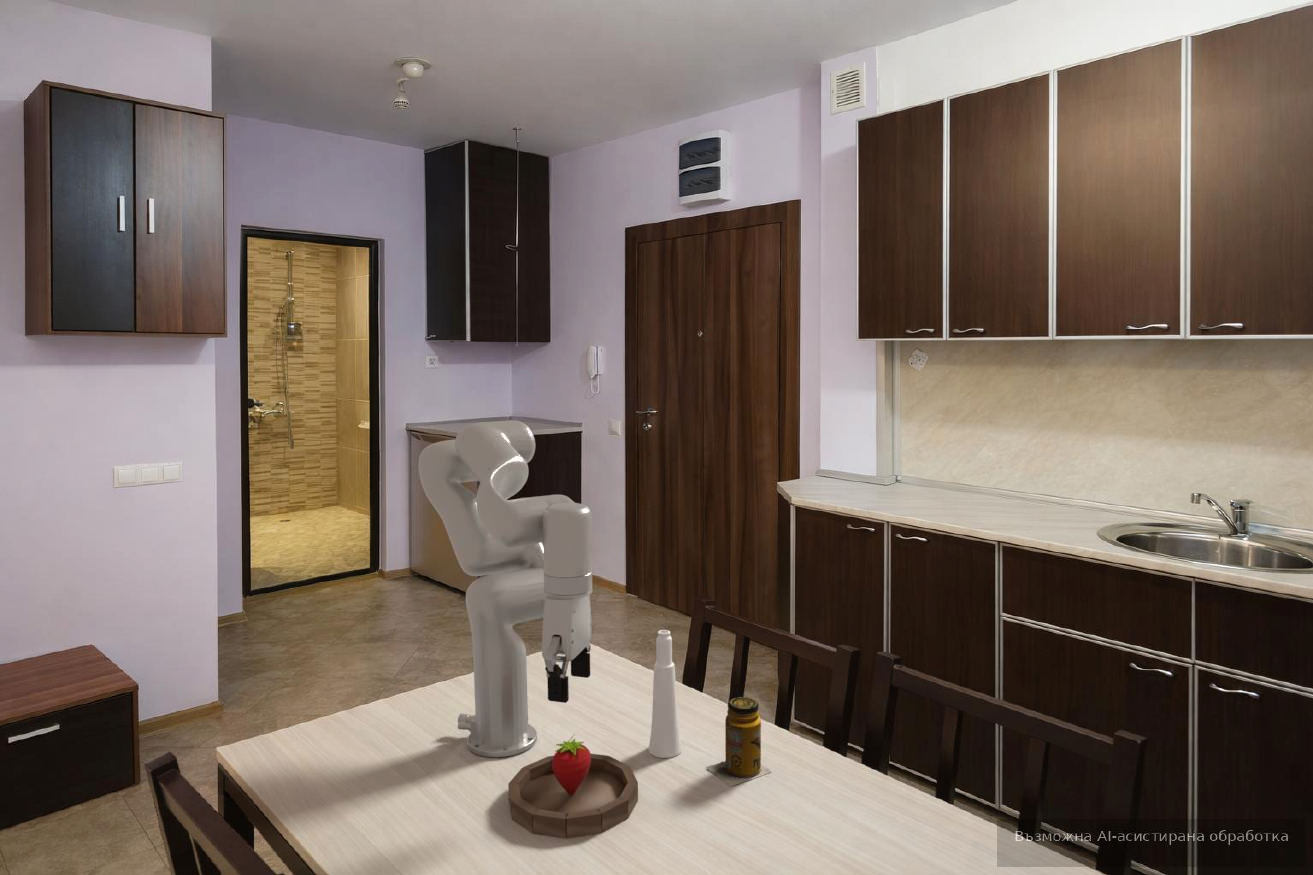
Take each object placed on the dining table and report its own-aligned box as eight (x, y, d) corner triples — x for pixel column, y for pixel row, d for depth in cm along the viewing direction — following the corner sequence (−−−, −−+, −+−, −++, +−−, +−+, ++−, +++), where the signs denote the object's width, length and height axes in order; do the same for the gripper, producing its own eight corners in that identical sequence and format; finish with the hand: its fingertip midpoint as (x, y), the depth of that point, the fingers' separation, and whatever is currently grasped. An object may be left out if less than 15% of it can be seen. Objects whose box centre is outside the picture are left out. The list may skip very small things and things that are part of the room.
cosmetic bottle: (655, 740, 154) (653, 624, 151) (686, 745, 152) (685, 627, 149) (643, 755, 148) (642, 635, 146) (675, 760, 146) (674, 638, 144)
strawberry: (598, 786, 136) (597, 725, 135) (579, 807, 129) (577, 744, 128) (566, 781, 138) (564, 721, 137) (545, 802, 131) (543, 740, 130)
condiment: (771, 772, 142) (771, 704, 140) (732, 787, 137) (732, 717, 136) (744, 755, 148) (744, 690, 146) (705, 769, 143) (705, 701, 142)
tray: (488, 826, 126) (487, 807, 126) (540, 763, 145) (539, 747, 145) (613, 845, 121) (613, 825, 121) (650, 777, 140) (650, 760, 140)
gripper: (565, 566, 139) (567, 665, 141) (523, 597, 122) (525, 708, 124) (608, 570, 137) (609, 669, 139) (570, 601, 120) (572, 714, 122)
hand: (569, 688), depth 132 cm, fingers open, 9 cm apart
